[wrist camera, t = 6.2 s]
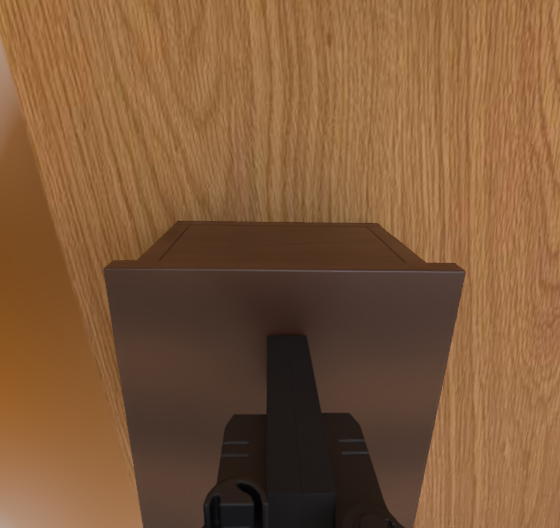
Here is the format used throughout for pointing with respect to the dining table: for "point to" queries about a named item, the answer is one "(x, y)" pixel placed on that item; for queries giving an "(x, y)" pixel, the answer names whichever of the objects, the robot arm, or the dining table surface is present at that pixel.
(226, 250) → the chest
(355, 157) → the dining table surface
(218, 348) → the lid
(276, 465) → the robot arm
